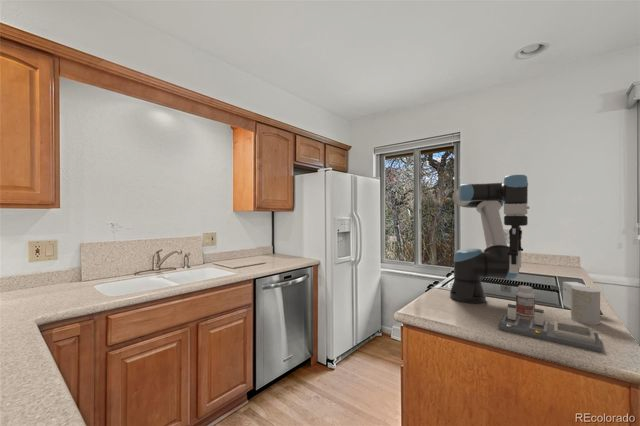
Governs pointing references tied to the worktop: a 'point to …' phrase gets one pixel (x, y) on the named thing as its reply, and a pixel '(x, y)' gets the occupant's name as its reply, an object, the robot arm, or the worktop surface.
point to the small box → (569, 292)
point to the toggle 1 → (511, 312)
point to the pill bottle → (525, 301)
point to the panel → (553, 332)
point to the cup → (585, 305)
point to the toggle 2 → (539, 317)
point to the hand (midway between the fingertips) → (515, 270)
